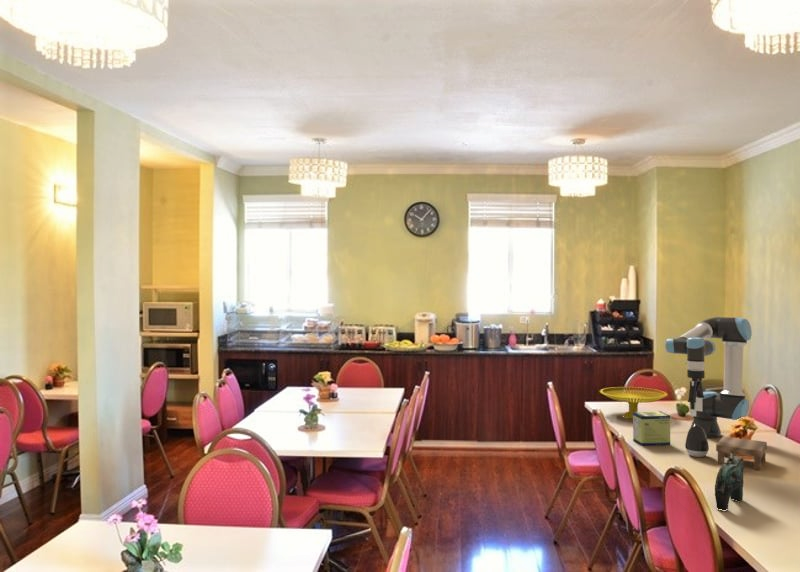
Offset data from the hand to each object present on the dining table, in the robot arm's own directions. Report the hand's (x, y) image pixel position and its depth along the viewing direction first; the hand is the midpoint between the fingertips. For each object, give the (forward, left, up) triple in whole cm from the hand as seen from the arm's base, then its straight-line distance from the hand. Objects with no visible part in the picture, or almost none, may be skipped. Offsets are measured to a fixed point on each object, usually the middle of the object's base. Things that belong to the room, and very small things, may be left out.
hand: (696, 413), depth 286 cm
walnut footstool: (+19, 0, -21) cm, 28 cm away
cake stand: (-50, +67, -21) cm, 86 cm away
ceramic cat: (+24, -60, -21) cm, 68 cm away
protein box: (-24, +11, -21) cm, 34 cm away
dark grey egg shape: (0, 0, -21) cm, 21 cm away
